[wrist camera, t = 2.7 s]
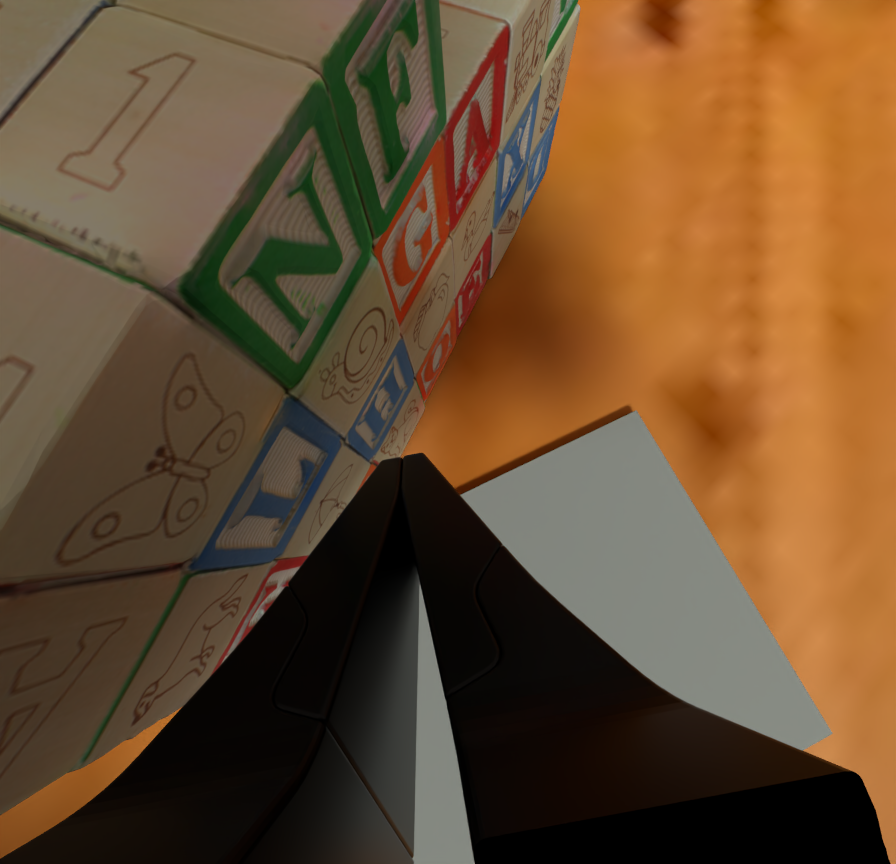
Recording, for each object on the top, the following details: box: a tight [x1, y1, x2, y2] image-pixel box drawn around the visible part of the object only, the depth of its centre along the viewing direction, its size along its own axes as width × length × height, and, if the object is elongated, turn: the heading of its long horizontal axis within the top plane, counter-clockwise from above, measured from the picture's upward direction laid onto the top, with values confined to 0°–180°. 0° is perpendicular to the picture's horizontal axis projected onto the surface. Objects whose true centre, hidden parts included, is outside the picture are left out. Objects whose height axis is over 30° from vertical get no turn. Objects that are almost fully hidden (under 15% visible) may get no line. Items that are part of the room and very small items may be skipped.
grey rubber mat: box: [412, 411, 832, 864], centre depth 14 cm, size 12×14×1 cm
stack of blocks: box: [0, 0, 580, 815], centre depth 11 cm, size 21×6×12 cm, turn 154°
